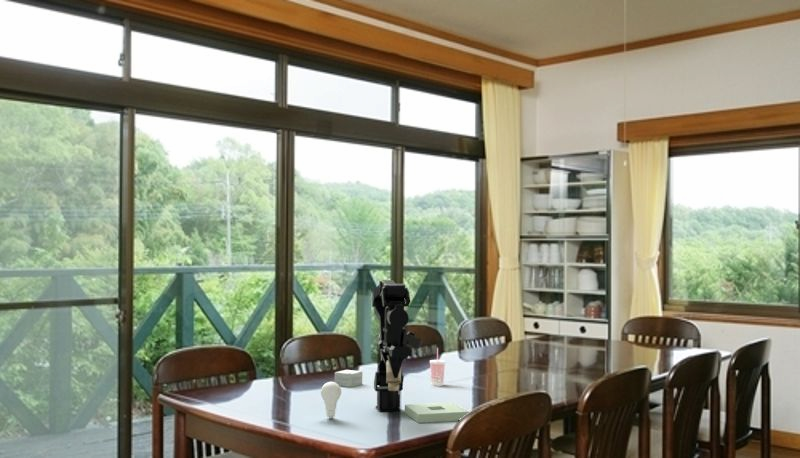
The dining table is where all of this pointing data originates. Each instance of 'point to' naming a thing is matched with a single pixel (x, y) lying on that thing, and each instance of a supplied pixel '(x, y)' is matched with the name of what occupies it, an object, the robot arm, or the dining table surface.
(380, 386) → the robot arm
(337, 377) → the small box
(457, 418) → the board
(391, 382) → the peg
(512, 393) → the dining table surface
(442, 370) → the beverage cup
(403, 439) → the dining table surface
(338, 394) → the lightbulb
